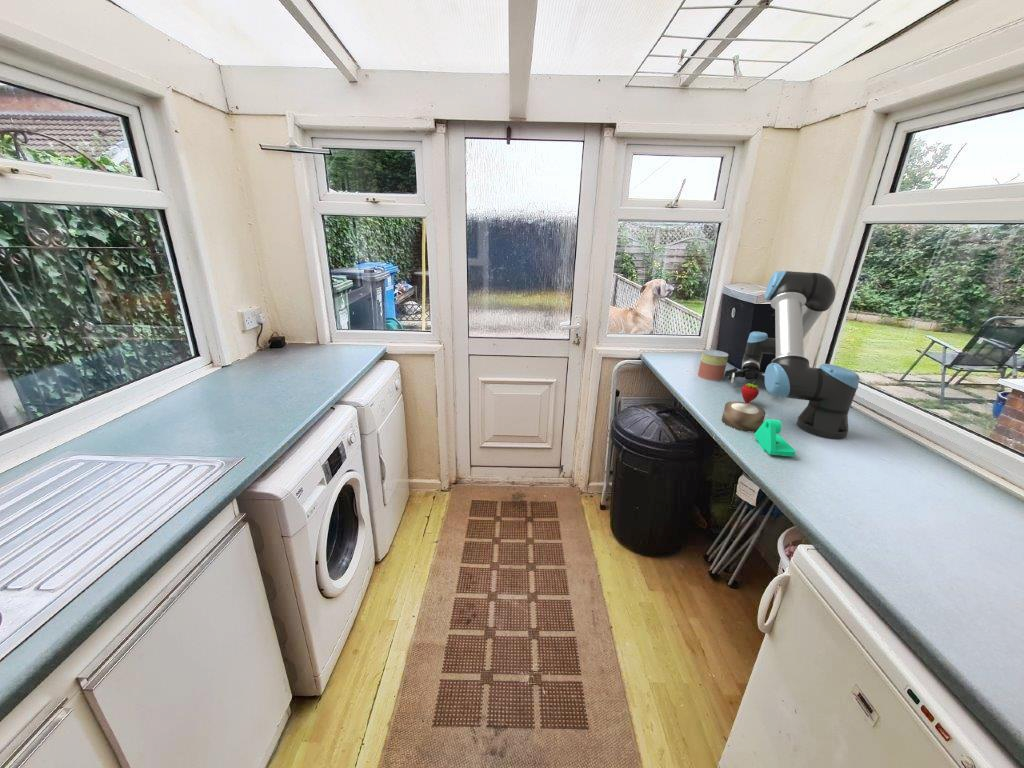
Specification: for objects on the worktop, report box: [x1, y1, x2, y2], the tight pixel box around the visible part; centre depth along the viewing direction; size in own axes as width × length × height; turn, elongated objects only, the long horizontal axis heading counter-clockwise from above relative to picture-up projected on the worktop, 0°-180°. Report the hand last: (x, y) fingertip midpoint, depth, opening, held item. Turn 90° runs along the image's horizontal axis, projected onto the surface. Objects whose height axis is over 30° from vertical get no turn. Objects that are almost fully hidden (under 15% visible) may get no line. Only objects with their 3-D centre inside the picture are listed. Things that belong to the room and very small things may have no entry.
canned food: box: [697, 349, 730, 382], centre depth 198 cm, size 11×11×12 cm
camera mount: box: [753, 418, 797, 458], centre depth 134 cm, size 12×8×10 cm, turn 172°
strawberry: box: [740, 380, 760, 404], centre depth 169 cm, size 6×8×10 cm
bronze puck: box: [721, 400, 766, 432], centre depth 152 cm, size 13×13×6 cm
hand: (750, 383), depth 176 cm, fingers open, 13 cm apart
